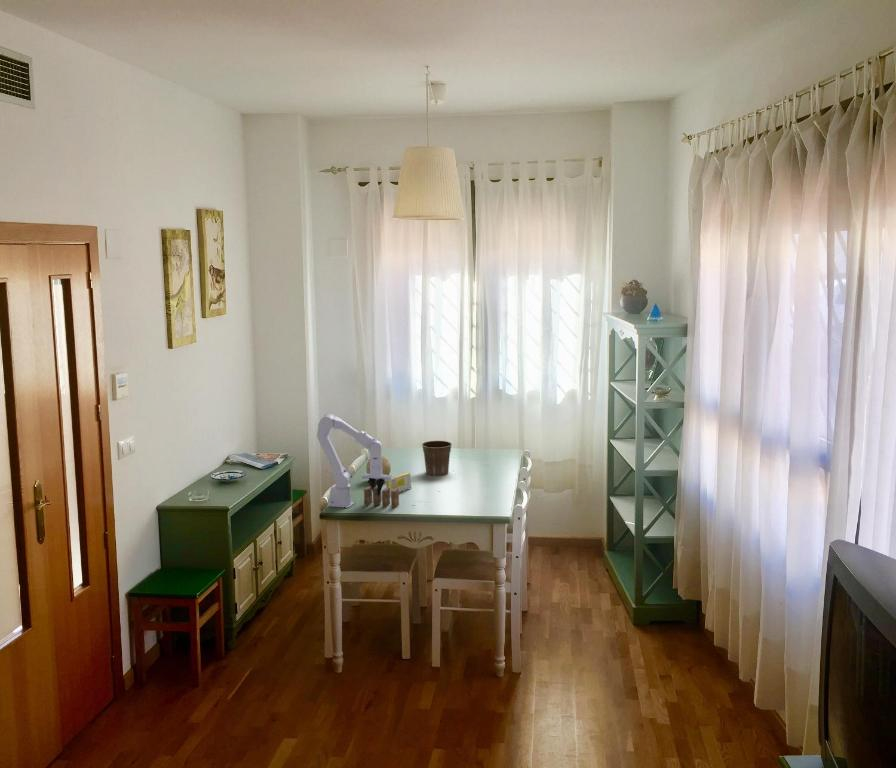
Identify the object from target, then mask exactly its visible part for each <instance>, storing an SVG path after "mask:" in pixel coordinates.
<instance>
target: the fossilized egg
mask: <svg viewBox="0 0 896 768" xmlns="http://www.w3.org/2000/svg"><path fill="white" fill-rule="evenodd" d="M365 467H366V468H365V469H366V474H370V458H369V459H368V460H367V463H366V466H365ZM391 467H392V466H391V463H390V461H389V459H388V458H387V456H386V455H385V454H384V453H382V473H383V474H385V475H390V474H391V471H392V470H391V469H392V468H391ZM377 480H378V479H377ZM377 480H376V482H377Z"/></svg>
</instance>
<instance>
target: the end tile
mask: <svg viewBox="0 0 896 768" xmlns="http://www.w3.org/2000/svg"><path fill="white" fill-rule="evenodd" d="M363 499H364V501H363V503H364V505H366V506H365V507H369V506H371V505H372V504H373V491H372V488H371V486H367V487H365V488H364V489H363ZM371 503H372V504H371ZM370 504H371V505H370ZM368 505H369V506H368Z"/></svg>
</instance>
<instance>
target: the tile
mask: <svg viewBox="0 0 896 768" xmlns="http://www.w3.org/2000/svg"><path fill="white" fill-rule="evenodd" d="M381 503H382V493H381V494H380V495H378V487H377V485H376V487H374V488H373V491H372V505H373V506H379V505H380V504H381Z"/></svg>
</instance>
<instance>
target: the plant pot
mask: <svg viewBox="0 0 896 768" xmlns="http://www.w3.org/2000/svg"><path fill="white" fill-rule="evenodd" d="M452 446H453V444H452V442H450V441H445V440H430V441H425V442H423V443H421V447H422V451H423V454H424V455H423V456H424V467H425V474H426V475H429V476H433V475H435V477H436V476H438V477H439V476H443V475H447V474H449V471H450V469H449V468H450V458H451V457H450V455H451V451H452Z"/></svg>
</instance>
